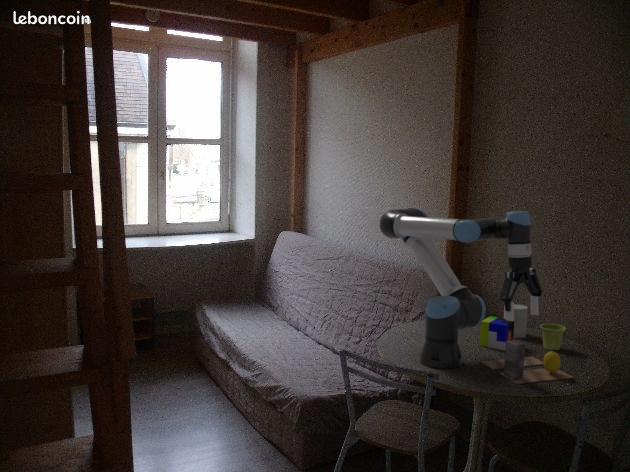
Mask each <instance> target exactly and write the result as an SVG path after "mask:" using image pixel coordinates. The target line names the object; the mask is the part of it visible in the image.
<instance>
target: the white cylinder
mask: <svg viewBox="0 0 630 472" xmlns="http://www.w3.org/2000/svg"><path fill="white" fill-rule="evenodd" d="M513 305H514V338H513V339H516V338H517V339H522V338H526V337H527V324H528V323H527V322H528V309H529V307H528V306H527V305H525V304H519V303H513ZM503 307H504V308H503V309H504V310H503V319H506V311H505V304H504V305H503Z"/></svg>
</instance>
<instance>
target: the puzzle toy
mask: <svg viewBox="0 0 630 472" xmlns="http://www.w3.org/2000/svg"><path fill="white" fill-rule="evenodd" d="M479 334H480V335H479V346H481V347H485V348H490V349H495V350H498V351H499V350H500V351H504V352H505V345H506V341H511V340H514V339H515V338H514V321H507V320H506V319H504V317H503V318H501V317H497V316H488V317H486V318H484V319H483V321H482V322H481V323H480V333H479Z"/></svg>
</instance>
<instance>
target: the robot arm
mask: <svg viewBox="0 0 630 472" xmlns="http://www.w3.org/2000/svg"><path fill="white" fill-rule="evenodd" d="M530 217H531V216H530V213H529V211H526V210H519V211H517V210H515V211H508V212H506V216H505V217H484V218H479V219H478V218H477V219H465V218H464V219H463V218H461V219H460V218H448V217H447V218H444V217H431V216H430V217H429V215H428V214H427V213H426V212H425V211H424V210H423V209H420V208H415V207H411V208H410V207H409V208H401V209H399V208H398V209H390V210H387V211H386V212H384V213H383V214H382V216H381V217H380V220H379V228H380V231H381V233H382V234H383V236H385V237H386V238H388V239H402V241H403V243H404V244H405V246H406V247H408V248H409V247H410V248H412V250H413V252H414V253H415V255H416V257H417V258H418V260H419V262H420V263H421V265H422V267H423V268H424V269H425V272H426V273H427V275H428V276H429V277H430V279H431V281H432V283H433V284H434V286H435V287H436V289H437V291H438V293H439V294H440V295H438V296H437V295H436V296H433V297H431V298H429V299H428V300H427V302H426V308H425V329H424V330H425V332H424V333H425V335H424V342H423V344H422V346H421V349H420V350H421V351H420V353H419V362H420V363H421V364H422V365H424V366H427V367H430V368H436V369H455V368H459V367H461V366H462V364H463V356H462V353H461V349H460V345H459V331H461V330H464V329H465V330H466V329H468V328H474V327H476V326H477V325H479V324H480V325H481V322H482V321H483V320H484V319H486V318H485V317H486V313H487V308H486V307H487V306H486V303H485V302H484V300H483V299H482V297H480V296H479V295H477V294H474V293H472V291H471V290H470V289H469V287H468V286H466V285H462V284H461V282H460V281H459V279H458V277H457V276H456V274H455V273H454V271H453V269H452V268H451V266H450V265H449V263H448V262H447V260H446V259H445V257H444V255H443V254H442V253H441V252H442V251H440V249H439V248H438V246H437V244H436V242H434V240H433V239H439V240H452V241H459V242H461V243H467V244H468V243H470V244H471V243H473V242H480V241H488V240H490V241H491V240H507V255H508V256H509V257H508V267H509V269H511V271H505V272H504V280H503V285H502V288H501V293H500V296H499V300H500V301H501V302H504V305H505V311H506V320H507V321H514V305H513V304H514V301H513V298H514V296H515V294H516V291H518V290H517V289H518V287H519V286H520V285H521V284H524V285H525V286H526V289H527V290H528V291H529V293H530V294H531V295H530V296H529V300H530V301H529V302H530V304H529V305H530V315H531V316H539V315H540V312H539V311H540V310H539V305H540V304H539V303H540V301H539V297H542V294H543V289H542V285H541V284H540V281H539V278H538V275H537V269H536V268H533V257H532V256H531V255H532V239H531V238H532V236H531V224H532V223H531V218H530Z"/></svg>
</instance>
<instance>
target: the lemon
mask: <svg viewBox="0 0 630 472" xmlns="http://www.w3.org/2000/svg"><path fill="white" fill-rule="evenodd" d="M542 362H543V365H542V366H543V368H545V369H546V370H547V371H549V372H550V373H553V372H556V371H557V370H560V368H561V363H562V362H561V357H560V355H559V353H557V352H555V350H550V351H547V353H545V354H544V356H543V361H542Z"/></svg>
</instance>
